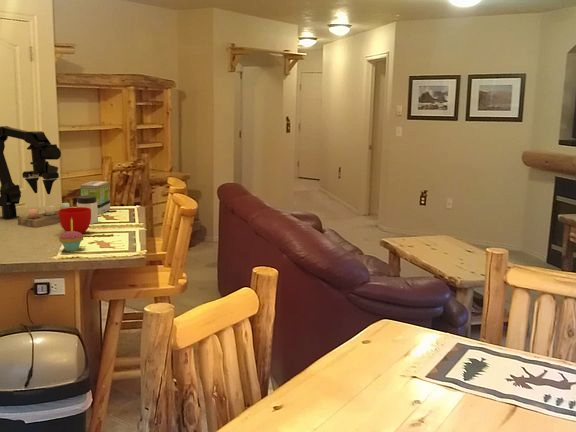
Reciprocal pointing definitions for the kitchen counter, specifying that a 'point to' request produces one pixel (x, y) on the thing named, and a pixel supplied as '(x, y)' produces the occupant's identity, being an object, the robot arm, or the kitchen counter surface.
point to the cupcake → (71, 239)
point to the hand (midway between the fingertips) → (42, 193)
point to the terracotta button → (33, 213)
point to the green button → (64, 205)
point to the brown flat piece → (39, 220)
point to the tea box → (98, 194)
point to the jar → (89, 206)
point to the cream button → (49, 210)
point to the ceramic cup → (75, 218)
